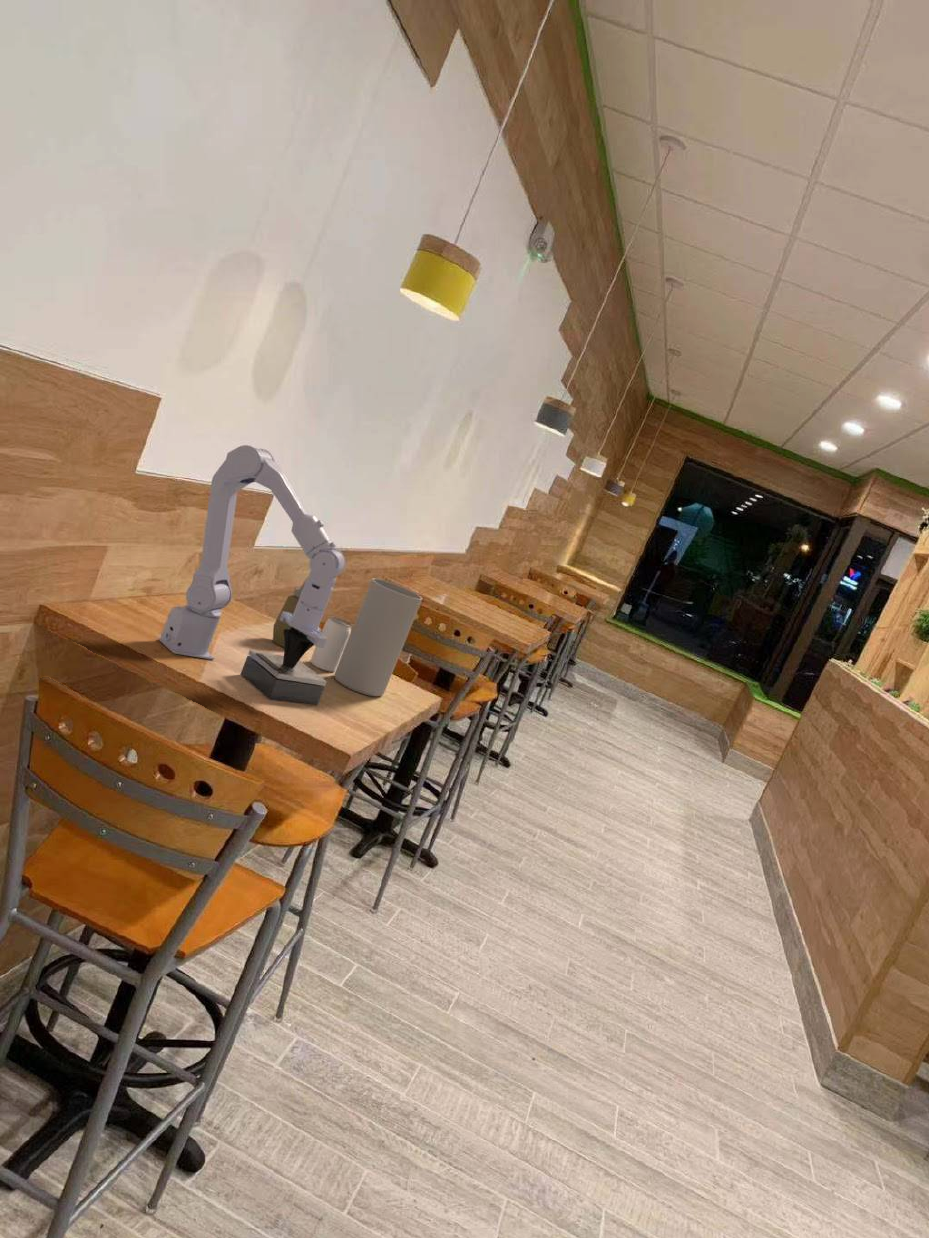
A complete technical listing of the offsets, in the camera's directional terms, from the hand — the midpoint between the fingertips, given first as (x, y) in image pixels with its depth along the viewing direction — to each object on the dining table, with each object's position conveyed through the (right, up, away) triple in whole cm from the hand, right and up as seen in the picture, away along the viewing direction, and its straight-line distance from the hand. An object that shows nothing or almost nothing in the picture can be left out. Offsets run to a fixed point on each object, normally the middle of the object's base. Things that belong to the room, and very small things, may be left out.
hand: (288, 665), depth 187 cm
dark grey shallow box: (-2, -5, +1) cm, 6 cm away
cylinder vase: (+11, -6, +28) cm, 31 cm away
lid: (0, -1, 0) cm, 1 cm away
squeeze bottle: (-8, +3, +38) cm, 39 cm away
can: (+2, -2, +32) cm, 33 cm away
